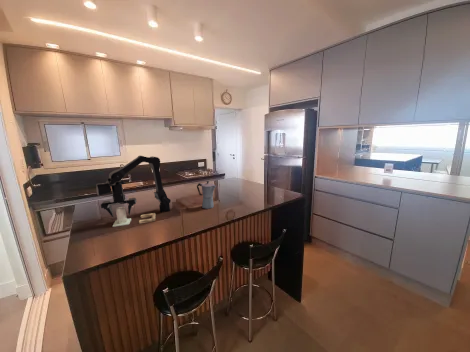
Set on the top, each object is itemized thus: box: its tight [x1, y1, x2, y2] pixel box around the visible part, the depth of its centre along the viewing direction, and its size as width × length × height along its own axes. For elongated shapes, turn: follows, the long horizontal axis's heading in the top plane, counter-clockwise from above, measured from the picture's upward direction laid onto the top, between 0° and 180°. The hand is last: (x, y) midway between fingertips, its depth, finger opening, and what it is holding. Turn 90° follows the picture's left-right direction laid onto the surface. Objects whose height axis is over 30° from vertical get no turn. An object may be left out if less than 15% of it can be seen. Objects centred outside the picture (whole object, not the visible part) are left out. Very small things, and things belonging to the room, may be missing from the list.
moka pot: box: [196, 180, 217, 210], centre depth 149 cm, size 10×15×20 cm, turn 78°
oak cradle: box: [138, 212, 156, 224], centre depth 132 cm, size 9×11×2 cm
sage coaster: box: [112, 217, 132, 228], centre depth 127 cm, size 9×9×1 cm
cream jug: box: [115, 206, 128, 224], centre depth 127 cm, size 8×5×9 cm
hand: (121, 215), depth 126 cm, fingers open, 9 cm apart
